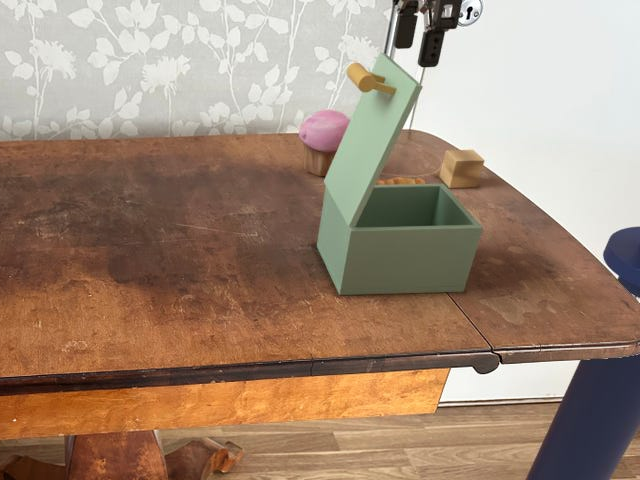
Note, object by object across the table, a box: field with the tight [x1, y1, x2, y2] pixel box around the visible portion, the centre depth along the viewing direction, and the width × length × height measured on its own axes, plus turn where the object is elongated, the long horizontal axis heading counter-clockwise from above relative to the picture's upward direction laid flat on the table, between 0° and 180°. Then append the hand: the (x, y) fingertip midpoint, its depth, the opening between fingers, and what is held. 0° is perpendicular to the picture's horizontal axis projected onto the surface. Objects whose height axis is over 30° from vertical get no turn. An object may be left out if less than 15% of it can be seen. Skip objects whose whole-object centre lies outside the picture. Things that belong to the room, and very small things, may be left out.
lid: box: [323, 51, 424, 227], centre depth 81 cm, size 16×13×5 cm
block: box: [438, 149, 485, 189], centre depth 112 cm, size 4×4×4 cm
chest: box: [316, 183, 484, 296], centre depth 89 cm, size 16×13×9 cm
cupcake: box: [298, 109, 351, 177], centre depth 114 cm, size 9×9×10 cm
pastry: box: [375, 176, 427, 185], centre depth 106 cm, size 9×7×4 cm
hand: (414, 56), depth 84 cm, fingers open, 8 cm apart
